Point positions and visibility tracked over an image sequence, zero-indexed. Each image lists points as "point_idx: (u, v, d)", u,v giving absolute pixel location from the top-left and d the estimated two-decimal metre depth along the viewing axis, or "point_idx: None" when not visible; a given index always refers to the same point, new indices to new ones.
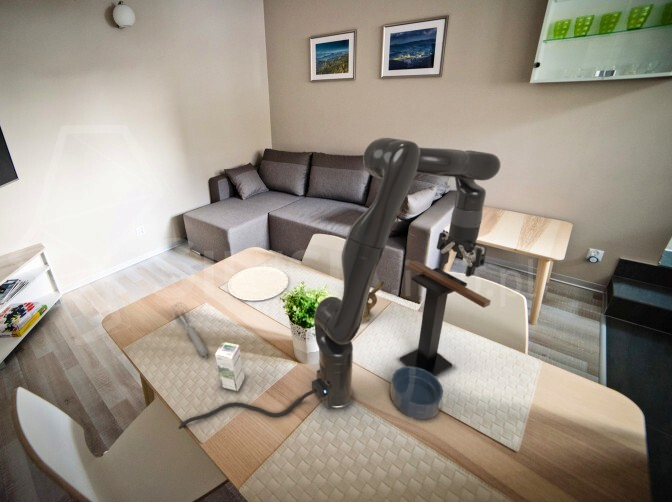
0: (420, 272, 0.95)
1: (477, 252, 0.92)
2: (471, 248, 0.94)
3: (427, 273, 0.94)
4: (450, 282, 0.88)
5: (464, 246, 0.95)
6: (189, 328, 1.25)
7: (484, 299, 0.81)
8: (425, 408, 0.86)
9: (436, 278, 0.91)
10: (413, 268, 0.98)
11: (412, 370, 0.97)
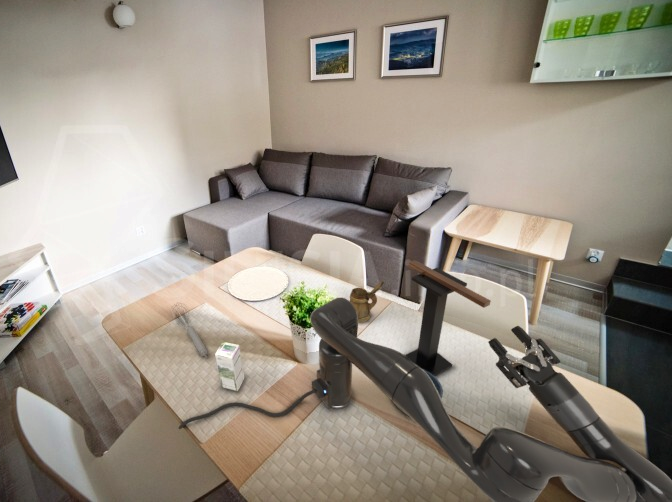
0: (420, 272, 0.95)
1: (521, 378, 0.71)
2: (527, 376, 0.72)
3: (427, 273, 0.94)
4: (450, 282, 0.88)
5: (533, 371, 0.72)
6: (189, 328, 1.25)
7: (484, 299, 0.81)
8: None
9: (436, 278, 0.91)
10: (413, 268, 0.98)
11: None
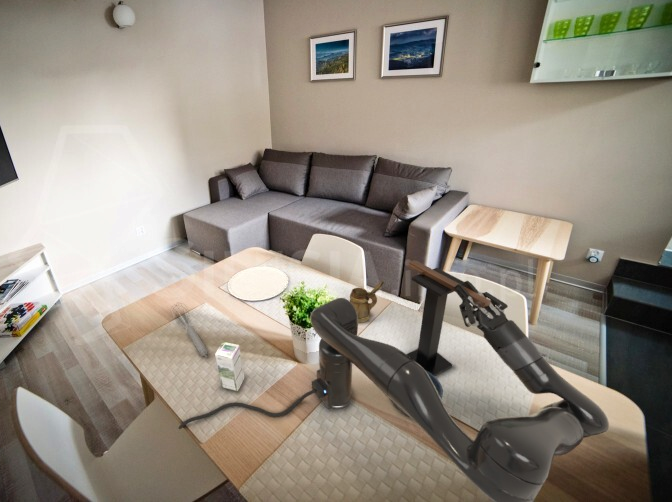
0: (420, 272, 0.95)
1: (473, 318, 0.78)
2: (481, 321, 0.79)
3: (427, 273, 0.94)
4: (450, 282, 0.88)
5: (487, 319, 0.79)
6: (189, 328, 1.25)
7: (484, 299, 0.81)
8: None
9: (436, 278, 0.91)
10: (413, 268, 0.98)
11: None
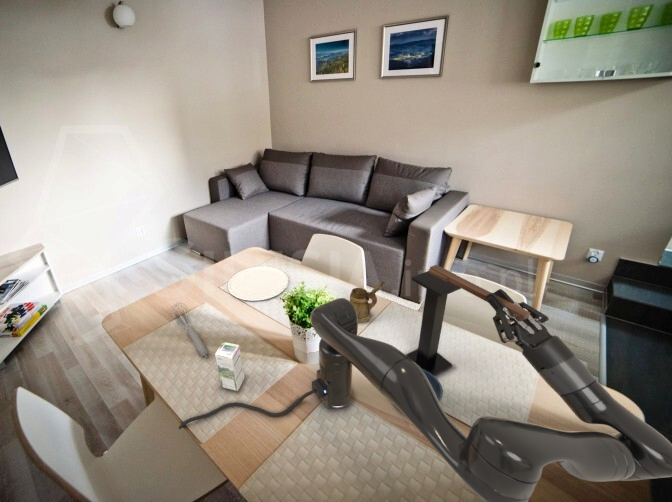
0: (443, 278, 0.85)
1: (511, 333, 0.68)
2: (520, 336, 0.68)
3: (452, 280, 0.83)
4: (480, 290, 0.78)
5: (527, 334, 0.68)
6: (189, 328, 1.25)
7: (522, 311, 0.70)
8: None
9: (463, 286, 0.81)
10: (435, 274, 0.87)
11: None
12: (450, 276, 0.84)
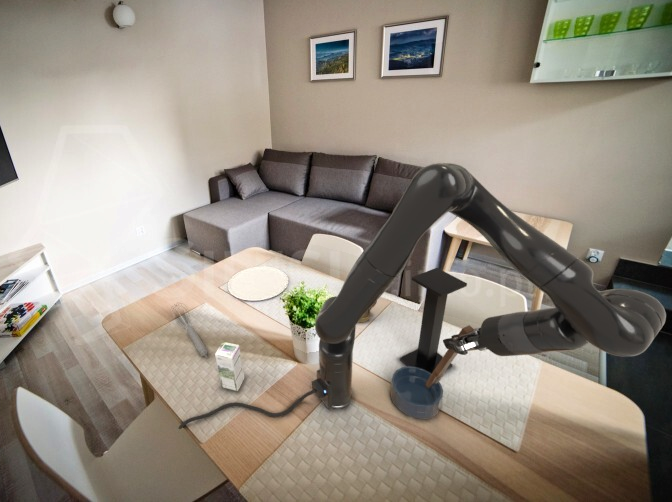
0: (432, 376, 0.82)
1: (458, 341, 0.67)
2: (470, 339, 0.67)
3: (436, 370, 0.81)
4: None
5: (476, 335, 0.67)
6: (189, 328, 1.25)
7: None
8: (425, 408, 0.86)
9: (440, 364, 0.79)
10: (429, 381, 0.84)
11: (412, 370, 0.97)
12: (434, 370, 0.82)
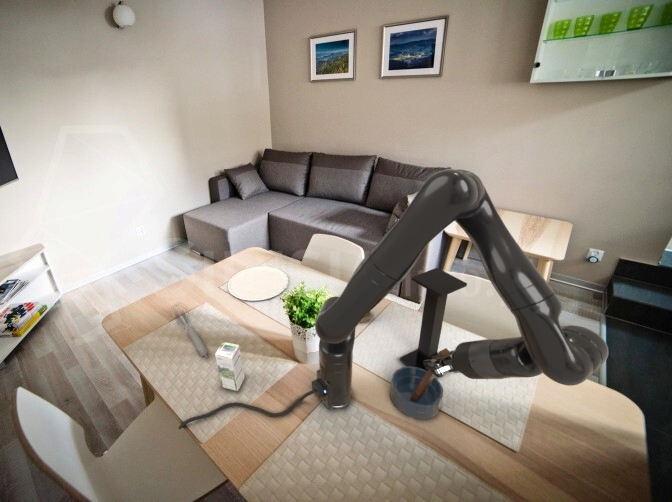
0: (415, 394, 0.88)
1: (435, 364, 0.73)
2: (445, 362, 0.72)
3: (418, 388, 0.87)
4: None
5: (451, 358, 0.73)
6: (189, 328, 1.25)
7: None
8: (425, 408, 0.86)
9: (422, 382, 0.85)
10: (412, 398, 0.89)
11: (412, 370, 0.97)
12: None
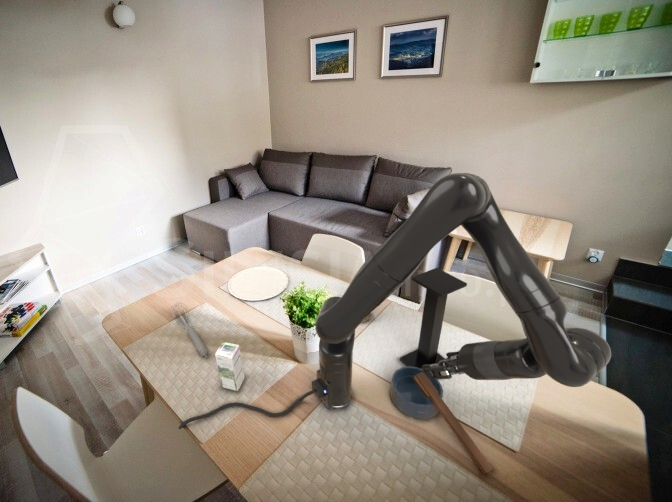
0: (425, 395, 0.87)
1: (442, 366, 0.73)
2: (450, 364, 0.73)
3: (433, 400, 0.86)
4: (455, 424, 0.81)
5: (455, 359, 0.74)
6: (189, 328, 1.25)
7: (486, 465, 0.76)
8: (425, 408, 0.86)
9: (441, 412, 0.84)
10: (419, 385, 0.89)
11: (412, 370, 0.97)
12: (432, 395, 0.86)
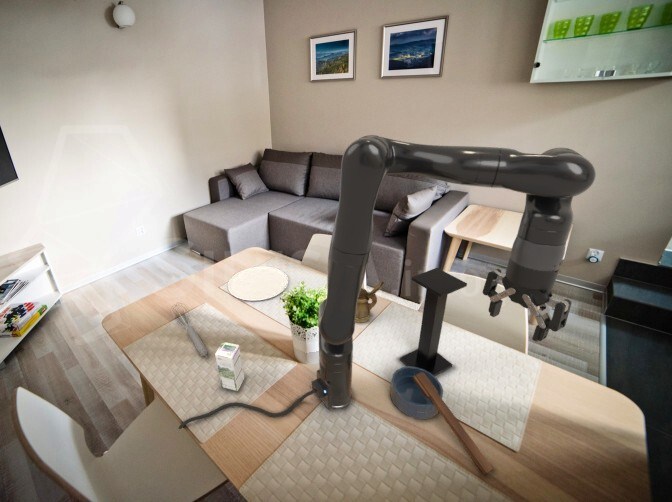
0: (425, 395, 0.87)
1: (556, 309, 0.59)
2: (545, 301, 0.60)
3: (433, 400, 0.86)
4: (455, 424, 0.81)
5: (532, 296, 0.62)
6: (189, 328, 1.25)
7: (486, 465, 0.76)
8: (425, 408, 0.86)
9: (441, 412, 0.84)
10: (419, 385, 0.89)
11: (412, 370, 0.97)
12: (432, 395, 0.86)
